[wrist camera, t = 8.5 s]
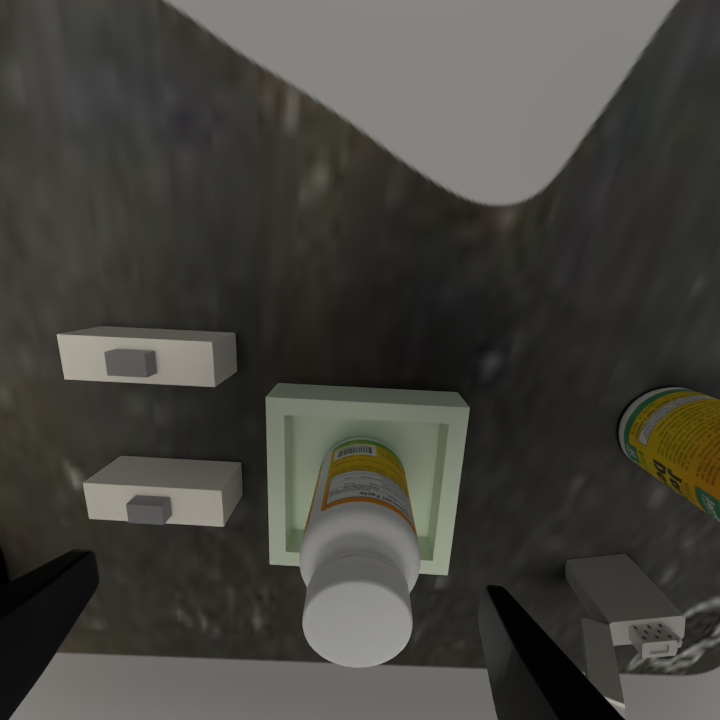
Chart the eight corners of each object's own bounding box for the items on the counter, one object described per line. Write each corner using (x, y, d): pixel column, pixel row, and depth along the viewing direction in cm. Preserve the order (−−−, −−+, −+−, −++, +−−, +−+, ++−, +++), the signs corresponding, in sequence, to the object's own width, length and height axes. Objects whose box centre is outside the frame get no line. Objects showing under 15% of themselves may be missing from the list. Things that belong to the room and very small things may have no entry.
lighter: (627, 553, 23) (762, 697, 15) (626, 573, 23) (758, 724, 15) (521, 564, 23) (598, 710, 15) (522, 584, 23) (598, 736, 16)
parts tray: (439, 543, 23) (447, 575, 20) (280, 534, 23) (269, 564, 21) (457, 392, 20) (469, 407, 18) (278, 382, 20) (265, 397, 18)
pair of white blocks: (242, 494, 22) (217, 537, 19) (125, 487, 22) (77, 528, 19) (235, 332, 20) (204, 344, 16) (102, 326, 20) (41, 336, 16)
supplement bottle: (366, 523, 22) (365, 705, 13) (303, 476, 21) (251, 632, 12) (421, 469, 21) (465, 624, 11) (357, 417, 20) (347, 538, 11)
